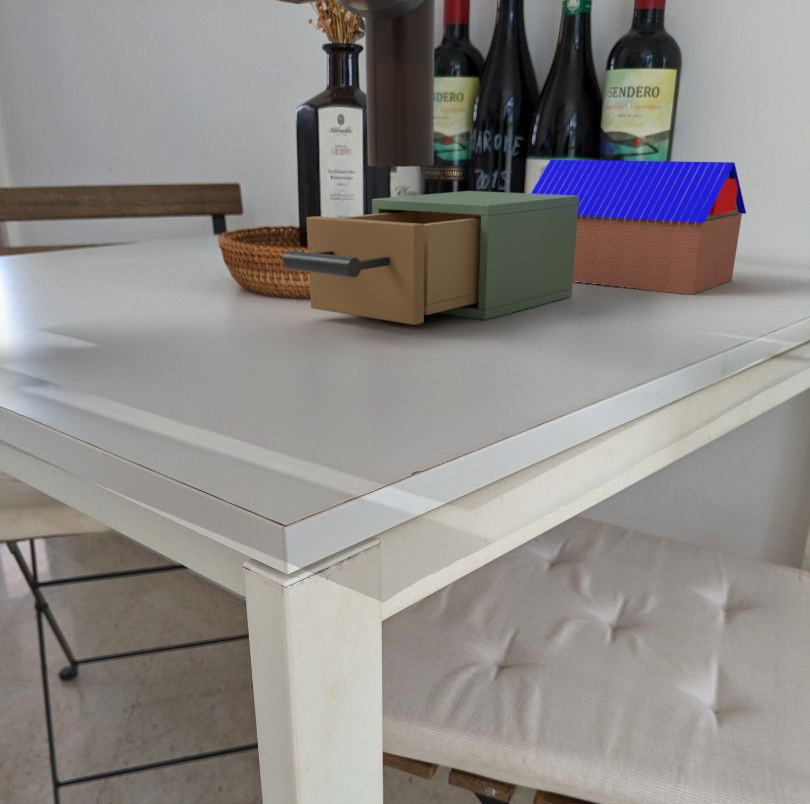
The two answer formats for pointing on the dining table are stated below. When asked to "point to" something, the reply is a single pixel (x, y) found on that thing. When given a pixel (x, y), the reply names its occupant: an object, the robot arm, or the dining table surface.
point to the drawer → (391, 264)
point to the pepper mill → (401, 88)
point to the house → (651, 221)
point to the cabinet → (509, 245)
